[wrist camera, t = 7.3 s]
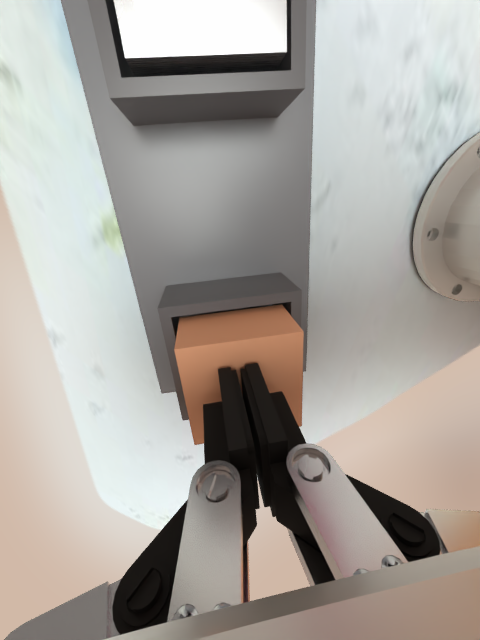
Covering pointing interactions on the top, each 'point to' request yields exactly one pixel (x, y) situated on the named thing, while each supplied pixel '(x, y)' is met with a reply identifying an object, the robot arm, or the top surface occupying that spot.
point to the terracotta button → (238, 356)
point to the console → (204, 178)
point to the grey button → (202, 36)
